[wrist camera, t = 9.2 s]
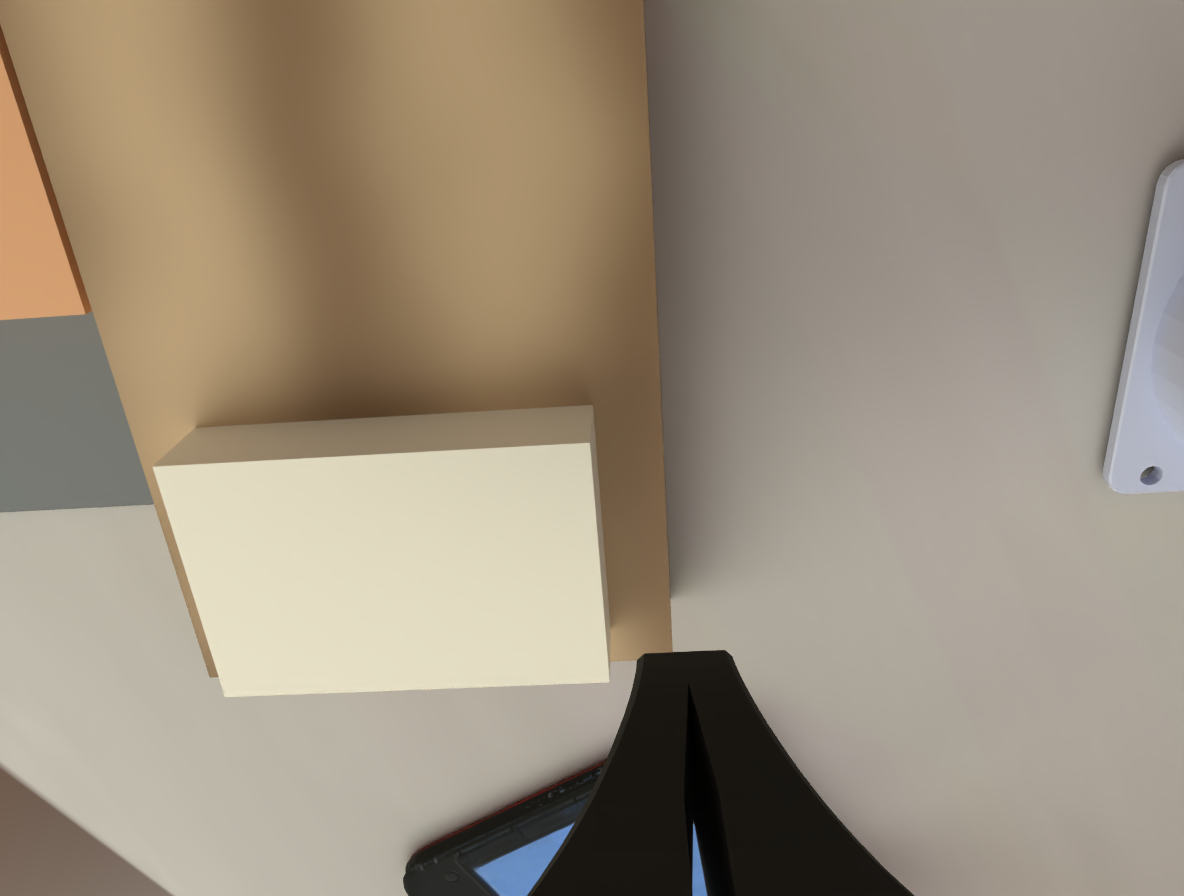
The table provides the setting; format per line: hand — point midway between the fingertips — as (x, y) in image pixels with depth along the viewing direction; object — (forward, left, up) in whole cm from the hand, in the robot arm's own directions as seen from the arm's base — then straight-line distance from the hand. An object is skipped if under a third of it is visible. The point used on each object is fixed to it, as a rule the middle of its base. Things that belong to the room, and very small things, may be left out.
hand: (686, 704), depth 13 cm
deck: (+6, -6, -10) cm, 13 cm away
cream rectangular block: (+6, +1, -7) cm, 10 cm away
